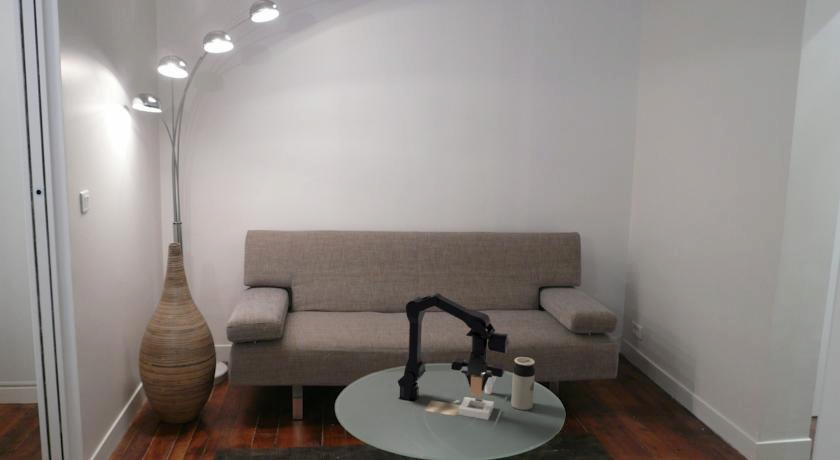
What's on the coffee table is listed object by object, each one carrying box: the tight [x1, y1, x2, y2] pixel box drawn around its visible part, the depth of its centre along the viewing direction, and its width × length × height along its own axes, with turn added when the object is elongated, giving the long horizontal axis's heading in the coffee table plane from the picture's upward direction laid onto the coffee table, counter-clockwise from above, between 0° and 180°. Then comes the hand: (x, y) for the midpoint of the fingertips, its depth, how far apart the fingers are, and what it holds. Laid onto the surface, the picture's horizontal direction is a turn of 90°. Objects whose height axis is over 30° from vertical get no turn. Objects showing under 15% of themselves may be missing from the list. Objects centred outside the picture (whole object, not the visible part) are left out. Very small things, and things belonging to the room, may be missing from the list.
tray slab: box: [423, 399, 461, 417], centre depth 223 cm, size 12×9×1 cm
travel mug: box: [510, 356, 536, 411], centre depth 226 cm, size 8×8×18 cm
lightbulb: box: [482, 372, 498, 395], centre depth 236 cm, size 6×6×11 cm
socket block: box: [457, 396, 495, 421], centre depth 221 cm, size 11×10×4 cm
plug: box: [469, 373, 484, 397], centre depth 219 cm, size 4×4×7 cm
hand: (476, 389), depth 219 cm, fingers closed on plug, 4 cm apart
